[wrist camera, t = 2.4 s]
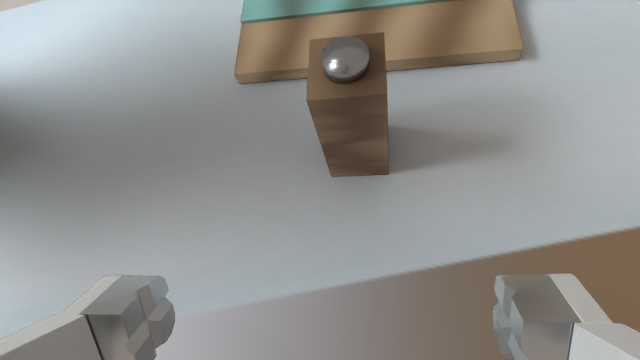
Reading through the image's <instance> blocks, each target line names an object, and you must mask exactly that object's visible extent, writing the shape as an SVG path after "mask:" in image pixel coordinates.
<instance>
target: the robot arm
mask: <svg viewBox="0 0 640 360" xmlns="http://www.w3.org/2000/svg"><path fill="white" fill-rule="evenodd" d="M494 291H495V294H496V296H497V298H498V301H499V302H498V303H497V304H496V305H495V306H494V308H493V326H494V334H495V338H496V342H497V345H498V348H499V351H500V352H501V353H503V354H504V355H505V356H507V360H640V333H639V332H637V331H635V330H633V329H631V328H629V327H628V326H626V325H623V324H615V323H613V322H612V321H611V320H610V319H609V317H608V316H607V315H606V314H605V312H604V311H603V310H602V309H601V308H600V306H599V305H598V304H597V303H596V301H595V300H594V299H593V298H592V296H591V295H590V294H589V293H588V292H587V290H586V289H585V288H584V287H583V285H582V284H581V283H580V282H579V281H578V279H577V278H576V277H575V276H574V275H572V274H570V273H569V274H545V275H505V276H504V275H503V276H497V277H496V280H495V290H494ZM167 292H168V287H167V284H166V281H165V279H164V278H162V277H161V276H141V275H126V276H125V275H109V276H104V277H102V278H101V279H100V280H99V281H98V282H96V283H95V284H94V285H93V286H92V287H91V288H90V289H88V290H87V291H86V292H85V293H84V294H83V295H82V296H80V297H79V298H78V299H77V300H76V301H75V302H74V303H72V304H71V305H70V306H69V307H68V308H67V309H66V310H65V311H63V312H62V313H61V314H60V315H52V316H50V317H48V318H46V319H43V320H41V321H39V322H37V323H35V324H32V325H30V326H28V327H26V328H24V329H22V330H19V331H17V332H15V333H13V334H11V335H8V336H6V337H4V338H2V339H0V360H154V359H155V357H156V348H157V347H158V346H160V345H162V344H163V343H165V342H166V341H167V339H168V338H169V336H170V335H171V333H172V330H173V326H174V322H175V312H174V308H173V304H172V303H171V302H170V301H169V300H168V299H167V298H166V297H165V296H166V294H167Z"/></svg>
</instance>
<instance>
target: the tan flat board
mask: <svg viewBox="0 0 640 360" xmlns="http://www.w3.org/2000/svg"><path fill="white" fill-rule="evenodd" d="M241 23H242V26H241V33H240V40H239V46H238V53H237V59H236V66H235V73H234V75H235V77H236V78H237V80H238V82H239V84H240V83H252V82H264V81H276V80H288V79H299V78H308V62H309V44H310V39H320V38H330V37H340V36H350V35H360V34H370V33H380V32H384V40H385V60H386V71H394V70H406V69H417V68H429V67H441V66H453V65H465V64H476V63H488V62H500V61H512V60H519V58H520V56H521V53H522V51H523V49H524V48H523V44H522V40H521V36H520V31H519V27H518V23H517V19H516V15H515V10H514V6H513V2H512V0H244V3H243V9H242V16H241Z"/></svg>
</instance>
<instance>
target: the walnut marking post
mask: <svg viewBox="0 0 640 360" xmlns="http://www.w3.org/2000/svg"><path fill="white" fill-rule="evenodd" d="M306 100H307V103H308V107H309V110H310V113H311V116H312V119H313V122H314V125H315V128H316V131H317V134H318V137H319V140H320V143H321V146H322V149H323V152H324V155H325V158H326V161H327V164H328V167H329V170H330V173H331V176H332V177H340V176H363V175H387V174H388V114H387V80H386V60H385V40H384V32H380V33H370V34H360V35H350V36H340V37H330V38H320V39H310V44H309V62H308V81H307V99H306Z"/></svg>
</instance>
